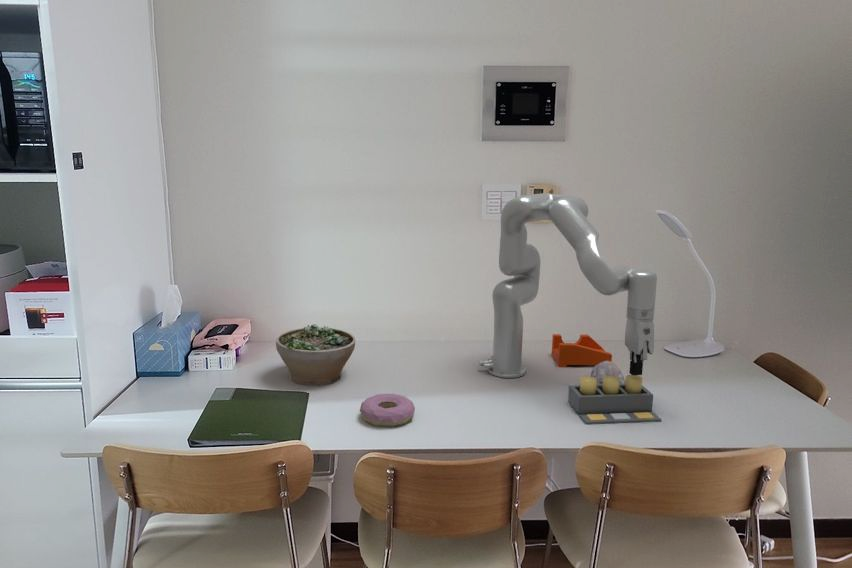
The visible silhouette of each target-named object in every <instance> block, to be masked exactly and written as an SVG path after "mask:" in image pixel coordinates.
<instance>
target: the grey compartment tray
mask: <svg viewBox="0 0 852 568" xmlns="http://www.w3.org/2000/svg"><path fill="white" fill-rule="evenodd" d="M602 388H603V385H596V395H583V396H582V395H581V394H580V393H579V392H580V384H579V385H577V384H575V385H574V384H573V385H568V396H567V397H568V398H567V404H568V403H569V404H570V405H571V406H572V407H571V406H570V405H569V404H568V405H569V406H570V407H571V409H572V408H573V409H574V410H575V411H574V410H573V409H572V410H573V411H574V412H575V413H576V415H577V414H578V415H577V416H579V415H587V414H614V413H641V412H653V402H654V394H653V393H652V392H651V391H650V390H649V389H647V388H646V387H645V386H644V385H643V384H642V390H641V394H628V393H627V392H626V391H625V384H619V394H613V395H605V394H604V393H603V392H602Z"/></svg>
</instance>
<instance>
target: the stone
mask: <svg viewBox="0 0 852 568" xmlns="http://www.w3.org/2000/svg"><path fill="white" fill-rule="evenodd" d="M606 375H612V376H617V377H619V378H620V382H619V384H625V383H626V378H625V377H624V375H623V372H622V370H621V368H619V367H618V365H617V364H616V363H614V362H610V361H604V362H601V363H599V364H598V365H594V368H592V370H591V373H590V376H591V377H595V378H596V379H597V384H596V385H603V377H604V376H606Z"/></svg>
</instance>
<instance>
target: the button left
mask: <svg viewBox="0 0 852 568" xmlns="http://www.w3.org/2000/svg"><path fill="white" fill-rule="evenodd" d="M596 384H597V379H596V378H595V377H591V375H583V376H581V377H580V381H579V385H580V392H579V393H580V394H581V395H582V396H583V395H596Z"/></svg>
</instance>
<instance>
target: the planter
mask: <svg viewBox="0 0 852 568" xmlns="http://www.w3.org/2000/svg"><path fill="white" fill-rule="evenodd" d="M355 346H356V337H354V335H353V334H352V333H350V332H348V331H346V330H342V329H336V328H332V327H329V326H328V325H327V326H325V325H323V327H319V325H318V324H317V323H313V324H311V325H309V324H308V325H307V326H305V327H302V328H297V329H292V330H289V331H286V332H285V331H284V332H283V333H281V334H280V335H278V336H277V338H276V340H275V347H276V352H277V353H278V354H279V356H280V358H281V360H282V361H283V363H284V365H285V367H286V368H287V369H288V372H289V373H290V380H291V381H292V382H293V383H294V384H297V385H301V386H308V387H317V386H318V387H319V386H320V387H321V386H326V385H327V386H328V385H330V384H333V383H336V382H338V381H340V379H341V374H342V371H343V369H344V367H345V366H346V364H347V362H348V361H349V359H350V358H351V356H352V354H353V352H354V350H355Z"/></svg>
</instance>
